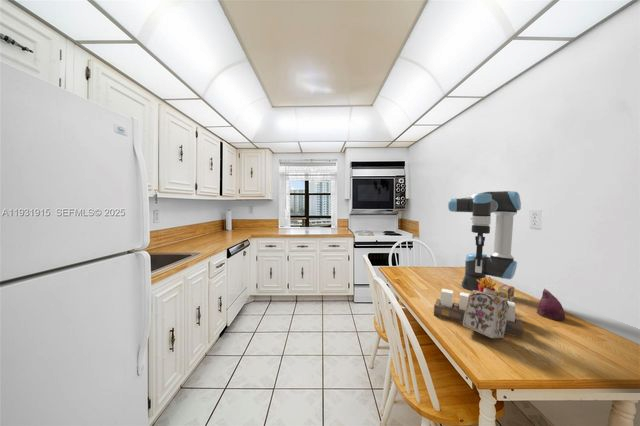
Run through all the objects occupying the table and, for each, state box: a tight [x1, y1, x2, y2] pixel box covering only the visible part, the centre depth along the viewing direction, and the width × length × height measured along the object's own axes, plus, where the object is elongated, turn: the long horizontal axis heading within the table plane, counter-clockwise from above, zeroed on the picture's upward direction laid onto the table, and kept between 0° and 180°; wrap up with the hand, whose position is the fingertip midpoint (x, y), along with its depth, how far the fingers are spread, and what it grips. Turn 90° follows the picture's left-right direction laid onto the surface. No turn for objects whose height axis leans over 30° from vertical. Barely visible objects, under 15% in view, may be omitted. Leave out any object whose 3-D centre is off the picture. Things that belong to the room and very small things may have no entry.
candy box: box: [497, 284, 515, 302], centre depth 119 cm, size 9×4×15 cm, turn 123°
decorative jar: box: [462, 288, 509, 339], centre depth 102 cm, size 12×12×18 cm
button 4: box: [507, 301, 517, 322], centre depth 107 cm, size 5×5×7 cm
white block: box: [458, 291, 470, 311], centre depth 116 cm, size 5×5×7 cm
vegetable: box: [536, 288, 566, 322], centre depth 122 cm, size 10×10×15 cm
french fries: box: [476, 276, 497, 292], centre depth 136 cm, size 9×8×15 cm
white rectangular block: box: [440, 288, 454, 308], centre depth 121 cm, size 5×5×7 cm
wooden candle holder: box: [433, 298, 524, 338], centre depth 114 cm, size 10×34×5 cm, turn 56°
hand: (478, 272), depth 119 cm, fingers closed
